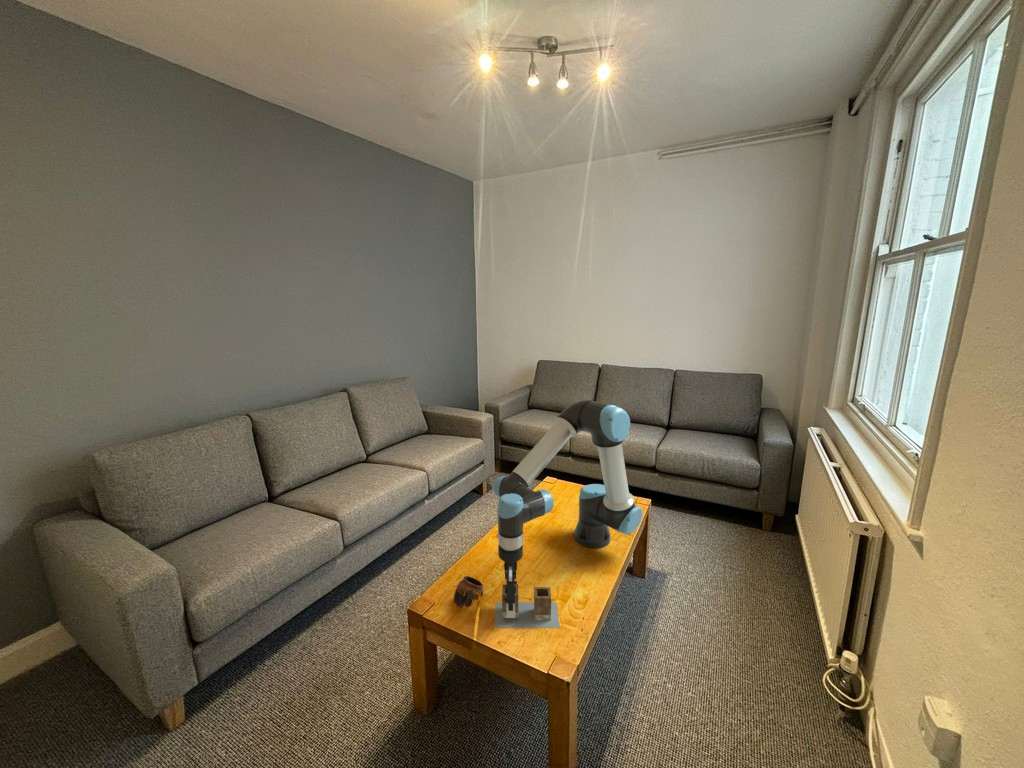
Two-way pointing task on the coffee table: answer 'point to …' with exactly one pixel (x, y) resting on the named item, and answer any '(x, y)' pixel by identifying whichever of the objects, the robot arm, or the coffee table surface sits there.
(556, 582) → the coffee table surface
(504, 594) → the sleeve loose
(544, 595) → the sleeve seated
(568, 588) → the coffee table surface
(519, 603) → the pin board
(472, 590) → the pottery mug
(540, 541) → the coffee table surface
